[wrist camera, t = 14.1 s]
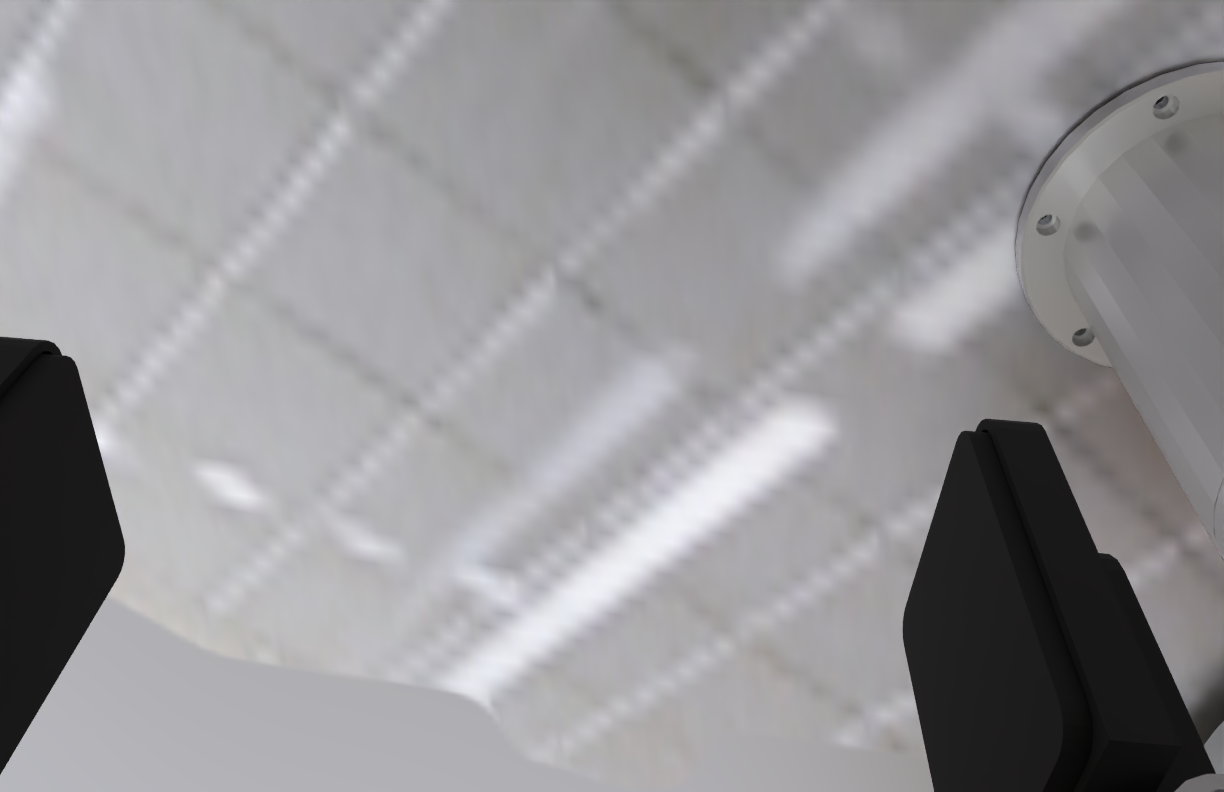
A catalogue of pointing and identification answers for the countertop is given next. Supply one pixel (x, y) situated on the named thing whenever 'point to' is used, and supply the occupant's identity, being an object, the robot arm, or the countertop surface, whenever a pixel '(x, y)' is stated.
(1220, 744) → the serving bowl
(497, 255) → the countertop surface
